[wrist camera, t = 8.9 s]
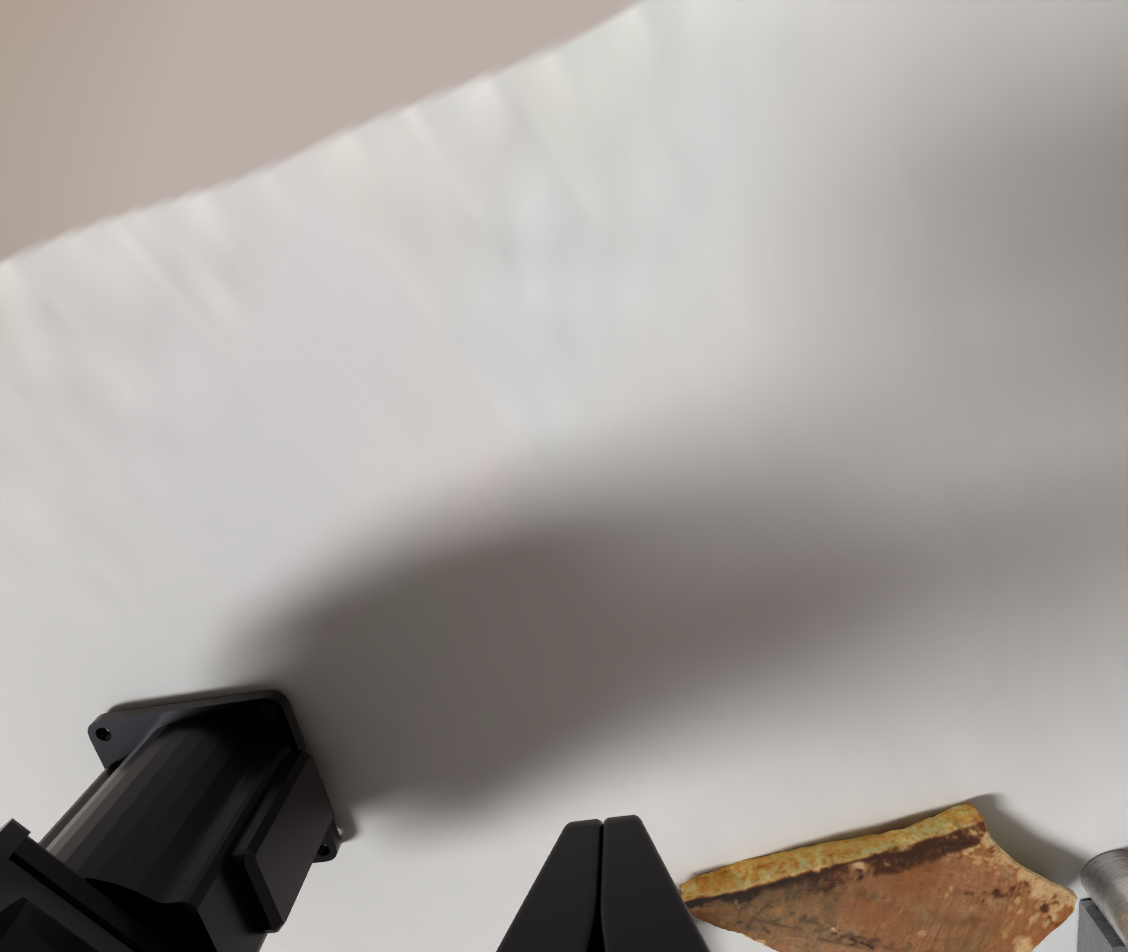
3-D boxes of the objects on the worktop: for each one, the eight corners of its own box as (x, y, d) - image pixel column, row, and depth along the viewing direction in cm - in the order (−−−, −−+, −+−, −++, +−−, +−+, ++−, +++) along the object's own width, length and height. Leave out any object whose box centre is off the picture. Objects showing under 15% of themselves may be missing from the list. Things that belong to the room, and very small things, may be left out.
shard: (663, 869, 25) (668, 917, 23) (783, 705, 22) (798, 745, 21) (930, 982, 26) (953, 1035, 24) (1071, 837, 23) (1108, 885, 22)
